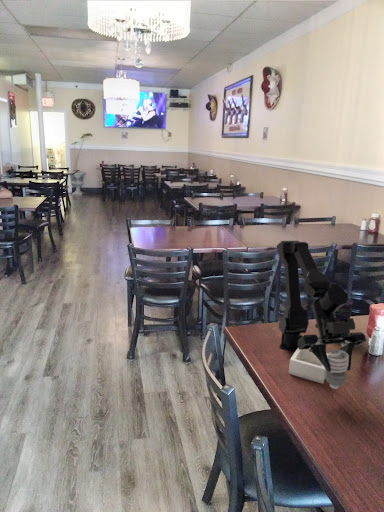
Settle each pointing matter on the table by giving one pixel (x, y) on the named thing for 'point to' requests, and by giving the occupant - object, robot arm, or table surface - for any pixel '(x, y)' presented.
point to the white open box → (307, 366)
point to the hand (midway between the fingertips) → (339, 370)
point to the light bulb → (337, 368)
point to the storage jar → (344, 312)
